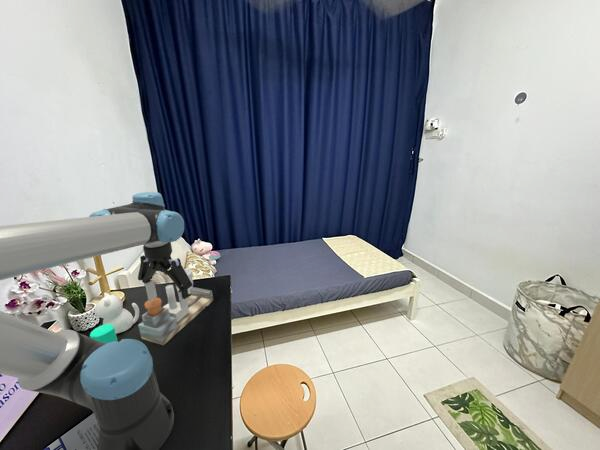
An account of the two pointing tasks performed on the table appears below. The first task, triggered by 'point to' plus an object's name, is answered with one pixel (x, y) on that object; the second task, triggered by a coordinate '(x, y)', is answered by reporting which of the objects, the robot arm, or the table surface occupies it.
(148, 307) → the plunger
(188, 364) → the table surface
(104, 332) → the candle
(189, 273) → the white cup
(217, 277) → the table surface
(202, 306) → the rail board
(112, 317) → the cat figurine
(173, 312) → the carriage
